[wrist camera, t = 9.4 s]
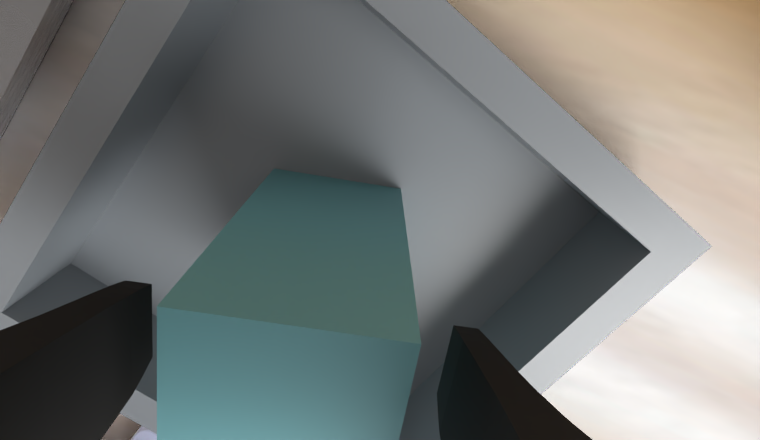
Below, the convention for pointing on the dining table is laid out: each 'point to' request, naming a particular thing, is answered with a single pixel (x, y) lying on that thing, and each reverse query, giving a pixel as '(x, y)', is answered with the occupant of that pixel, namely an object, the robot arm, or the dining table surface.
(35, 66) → the stud plate
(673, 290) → the dining table surface
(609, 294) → the bin
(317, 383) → the strut
